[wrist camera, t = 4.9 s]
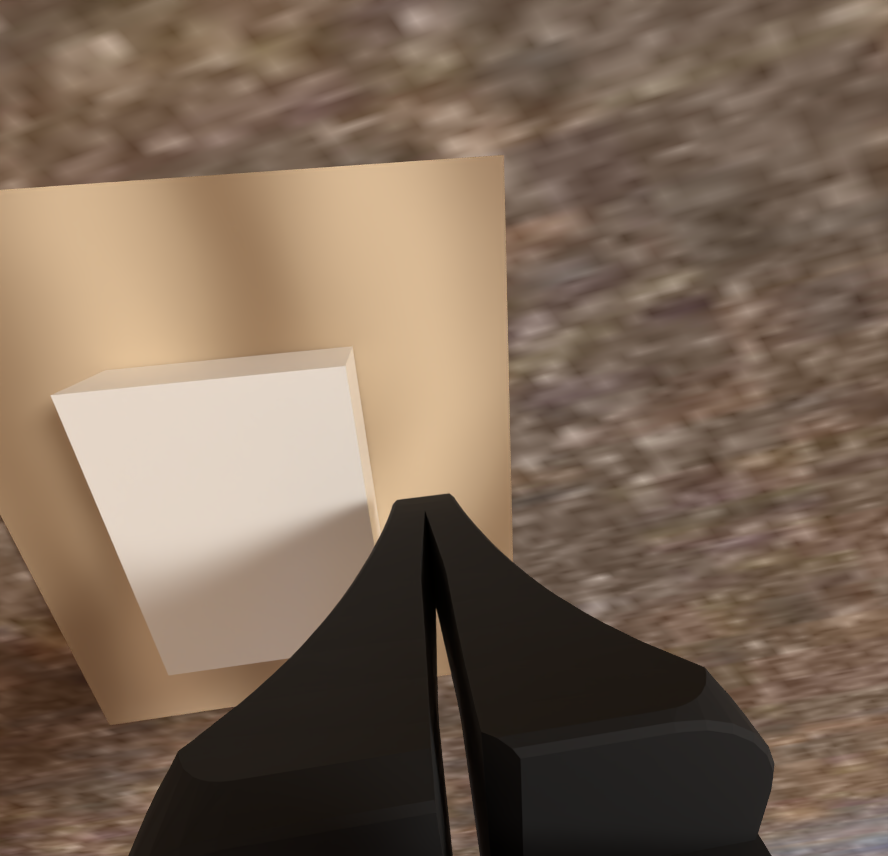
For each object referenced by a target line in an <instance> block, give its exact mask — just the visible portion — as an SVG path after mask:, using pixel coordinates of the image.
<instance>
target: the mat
mask: <svg viewBox="0 0 888 856" xmlns="http://www.w3.org/2000/svg"><path fill="white" fill-rule="evenodd" d="M350 346H352V347H353V353H354V360H355V366H356V373H357V379H358V386H359V393H360V399H361V406H362V412H363V419H364V425H365V432H366V439H367V445H368V452H369V458H370V465H371V471H372V478H373V485H374V491H375V498H376V504H377V511H378V517H379V524H380V531H381V533H382V530H383V528H384V526H385V524H386V522H387V519H388V517H389V514H390V511H391V508H392V505H393V504H394V503H395V501H396V500H400V499H407V498H415V497H423V496H431V495H439V494H447V493H450V494H451V495H452V496H454V497H455V499H456V501H457V502H458V504H459V505H460V506H461V508H462V509H463V510H464V512H465V513H466V514H467V515H468V517H469V518H470V519H471V520H472V521H473V523H474V524H475V525H476V526H477V527H478V528H479V529H480V530H481V531H482V533H483V534H484V535H485V536H486V537H487V538H488V539H489V540H490V541H491V542H492V543H493V544H494V545H495V546H496V547H497V548H498V549H499V550H500V551H501V552H502V553H503V554H504V555H506V556H507V557H508V558H509V559H510V560H511V561H512V562H513V546H512V501H511V456H510V411H509V367H508V322H507V277H506V232H505V188H504V155H498V156H483V157H469V158H454V159H440V160H426V161H411V162H397V163H382V164H368V165H354V166H339V167H325V168H310V169H296V170H282V171H267V172H253V173H238V174H224V175H210V176H195V177H181V178H166V179H152V180H138V181H123V182H109V183H94V184H80V185H66V186H51V187H37V188H22V189H8V190H0V515H1V517H2V519H3V521H4V523H5V525H6V527H7V529H8V530H9V532H10V534H11V536H12V538H13V540H14V542H15V544H16V546H17V548H18V550H19V552H20V554H21V556H22V557H23V559H24V561H25V563H26V565H27V567H28V569H29V571H30V573H31V575H32V577H33V579H34V581H35V582H36V584H37V586H38V588H39V590H40V592H41V594H42V596H43V598H44V600H45V602H46V604H47V606H48V608H49V609H50V611H51V613H52V615H53V617H54V619H55V621H56V623H57V625H58V627H59V629H60V631H61V633H62V635H63V636H64V638H65V640H66V642H67V644H68V646H69V648H70V650H71V652H72V654H73V656H74V658H75V660H76V662H77V663H78V665H79V667H80V669H81V671H82V673H83V675H84V677H85V679H86V681H87V683H88V685H89V687H90V689H91V690H92V692H93V694H94V696H95V698H96V700H97V702H98V704H99V706H100V708H101V710H102V712H103V714H104V716H105V717H106V719H107V721H108V723H109V725H114V724H121V723H128V722H135V721H141V720H148V719H155V718H161V717H168V716H175V715H181V714H188V713H195V712H202V711H208V710H215V709H222V708H228V707H235V706H237V705H238V704H240V703H241V702H242V701H243V700H244V699H245V698H247V697H248V696H249V695H250V694H251V693H252V692H254V691H255V690H256V689H257V688H258V687H259V686H260V685H261V684H263V683H264V682H265V681H266V680H267V679H268V678H269V677H270V676H271V675H272V674H274V673H275V672H276V671H277V670H278V669H279V668H280V667H281V666H282V665H283V664H284V663H285V662H286V661H287V660H288V659H289V658H288V659H281V660H274V661H267V662H260V663H253V664H246V665H239V666H232V667H225V668H218V669H211V670H204V671H197V672H190V673H183V674H176V675H168V673H167V671H166V668H165V666H164V664H163V661H162V659H161V656H160V654H159V652H158V649H157V647H156V645H155V642H154V640H153V637H152V635H151V633H150V630H149V628H148V626H147V623H146V621H145V618H144V616H143V614H142V611H141V609H140V607H139V604H138V602H137V599H136V597H135V595H134V592H133V590H132V588H131V585H130V583H129V580H128V578H127V576H126V573H125V571H124V569H123V566H122V564H121V561H120V559H119V557H118V554H117V552H116V550H115V547H114V545H113V542H112V540H111V538H110V535H109V533H108V531H107V528H106V526H105V523H104V521H103V519H102V516H101V514H100V512H99V509H98V507H97V504H96V502H95V500H94V497H93V495H92V493H91V490H90V488H89V486H88V483H87V481H86V478H85V476H84V474H83V471H82V469H81V467H80V464H79V462H78V459H77V457H76V455H75V452H74V450H73V448H72V445H71V443H70V440H69V438H68V436H67V433H66V431H65V429H64V426H63V424H62V421H61V419H60V417H59V414H58V412H57V410H56V407H55V405H54V402H53V400H52V398H51V395H52V394H55V393H57V392H59V391H61V390H63V389H66V388H68V387H70V386H72V385H74V384H77V383H79V382H81V381H83V380H85V379H87V378H90V377H92V376H94V375H96V374H98V373H101V372H103V371H105V370H113V369H123V368H133V367H143V366H154V365H164V364H174V363H185V362H195V361H205V360H216V359H226V358H236V357H247V356H257V355H267V354H278V353H288V352H298V351H308V350H319V349H329V348H339V347H350ZM436 630H437V676H443V675H450V674H451V671H450V666H449V662H448V658H447V653H446V649H445V645H444V640H443V636H442V632H441V627H440V623H439V619H438V614H437V610H436Z"/></svg>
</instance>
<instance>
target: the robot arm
mask: <svg viewBox="0 0 888 856" xmlns="http://www.w3.org/2000/svg"><path fill="white" fill-rule="evenodd" d="M436 610H437V614H438V619H439V623H440V627H441V632H442V636H443V640H444V645H445V649H446V653H447V658H448V662H449V666H450V671H451V675H452V679H453V684H454V688H455V692H456V697H457V701H458V707H459V712H460V717H461V723H462V730H463V737H464V744H465V751H466V758H467V765H468V773H469V780H470V787H471V794H472V801H473V808H474V816H475V823H476V830H477V837H478V845H479V852H480V856H771V854H770V853H769V851H768V849H767V848H766V846H765V844H764V843H763V841H762V840H761V838H760V836H759V835H758V831H759V828H760V825H761V821H762V818H763V815H764V812H765V808H766V805H767V802H768V799H769V795H770V792H771V788H772V781H773V772H774V761H773V758H772V755H771V752H770V749H769V747H768V745H767V744H766V743H765V741H764V740H763V738H762V737H761V736H760V734H759V733H758V732H757V730H756V729H755V728H754V726H753V725H752V724H751V722H750V721H749V720H748V718H747V717H746V716H745V714H744V713H743V712H742V710H741V709H740V708H739V707H738V705H737V704H736V703H735V702H734V700H733V699H732V698H731V697H730V696H729V694H728V693H727V692H726V691H725V690H724V689H723V688H722V687H721V686H720V685H719V683H718V682H717V681H716V680H715V679H714V678H713V677H712V676H711V674H710V673H709V672H708V671H707V669H706V668H705V667H702V666H700V665H698V664H695V663H693V662H690V661H688V660H685V659H683V658H681V657H678V656H676V655H673V654H671V653H668V652H666V651H663V650H661V649H659V648H656V647H654V646H651V645H649V644H646V643H644V642H642V641H640V640H637V639H635V638H633V637H631V636H629V635H627V634H625V633H623V632H621V631H619V630H617V629H615V628H613V627H611V626H609V625H607V624H605V623H603V622H601V621H599V620H597V619H596V618H594V617H592V616H590V615H588V614H586V613H585V612H583V611H581V610H580V609H578V608H576V607H575V606H573V605H572V604H570V603H568V602H567V601H565V600H563V599H562V598H560V597H558V596H557V595H555V594H554V593H552V592H551V591H549V590H548V589H546V588H545V587H544V586H542V585H541V584H540V583H538V582H537V581H536V580H534V579H533V578H532V577H530V576H529V575H528V574H526V573H525V572H524V571H523V570H522V569H520V568H519V567H518V566H517V565H516V564H514V563H513V562H512V561H511V560H510V559H509V558H508V557H507V556H506V555H504V554H503V553H502V552H501V551H500V550H499V549H498V548H497V547H496V546H495V545H494V544H493V543H492V542H491V541H490V540H489V539H488V538H487V537H486V536H485V535H484V534H483V533H482V531H481V530H480V529H479V528H478V527H477V526H476V525H475V524H474V523H473V521H472V520H471V519H470V518H469V517H468V515H467V514H466V513H465V512H464V510H463V509H462V508H461V506H460V505H459V504H458V502H457V501H456V499H455V497H454V496H452V495H451V494H450V493H447V494H439V495H431V496H423V497H415V498H407V499H400V500H396V501H395V503H394V504H393V505H392V508H391V511H390V514H389V517H388V519H387V522H386V524H385V526H384V528H383V530H382V533H381V535H380V536H379V538H378V540H377V542H376V544H375V546H374V548H373V550H372V552H371V554H370V555H369V557H368V559H367V560H366V562H365V564H364V565H363V567H362V568H361V570H360V572H359V573H358V575H357V576H356V578H355V579H354V581H353V583H352V584H351V586H350V587H349V588H348V590H347V591H346V593H345V594H344V595H343V597H342V598H341V599H340V601H339V602H338V603H337V605H336V606H335V607H334V609H333V610H332V611H331V612H330V614H329V615H328V616H327V617H326V619H325V620H324V621H323V622H322V623H321V624H320V626H319V627H318V628H317V629H316V630H315V631H314V632H313V634H312V635H311V636H310V637H309V638H308V639H307V640H306V642H305V643H304V644H303V645H302V646H301V647H300V648H299V649H298V650H297V651H296V652H295V653H294V654H293V655H292V656H291V657H290V658H289V659H288V660H287V661H286V662H285V663H284V664H283V665H282V666H281V667H280V668H279V669H278V670H277V671H276V672H275V673H274V674H272V675H271V676H270V677H269V678H268V679H267V680H266V681H265V682H264V683H263V684H261V685H260V686H259V687H258V688H257V689H256V690H255V691H254V692H252V693H251V694H250V695H249V696H248V697H247V698H245V699H244V700H243V701H242V702H241V703H240V704H238V705H237V706H236V707H235V708H233V709H232V710H231V711H229V712H228V713H227V714H226V715H224V716H223V717H222V718H221V719H219V720H218V721H217V722H216V723H214V724H213V725H212V726H211V727H209V728H208V729H207V730H205V731H204V732H203V733H202V734H200V735H199V736H198V737H197V738H195V739H194V740H193V741H191V742H190V743H189V744H187V745H186V746H185V747H183V748H182V749H181V750H179V751H178V753H177V754H176V757H175V759H174V761H173V763H172V765H171V767H170V769H169V770H168V772H167V774H166V776H165V778H164V779H163V781H162V783H161V785H160V787H159V788H158V790H157V792H156V795H155V797H154V799H153V801H152V803H151V805H150V807H149V809H148V811H147V813H146V816H145V818H144V820H143V823H142V825H141V827H140V830H139V832H138V834H137V837H136V839H135V841H134V844H133V846H132V849H131V851H130V853H129V856H453V854H452V844H451V835H450V825H449V816H448V806H447V797H446V787H445V778H444V768H443V758H442V749H441V739H440V729H439V715H438V685H437V630H436Z"/></svg>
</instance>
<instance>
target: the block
mask: <svg viewBox="0 0 888 856" xmlns="http://www.w3.org/2000/svg"><path fill="white" fill-rule="evenodd" d="M51 398H52V400H53V402H54V405H55V407H56V410H57V412H58V414H59V417H60V419H61V421H62V424H63V426H64V429H65V431H66V433H67V436H68V438H69V440H70V443H71V445H72V448H73V450H74V452H75V455H76V457H77V459H78V462H79V464H80V467H81V469H82V471H83V474H84V476H85V478H86V481H87V483H88V486H89V488H90V490H91V493H92V495H93V497H94V500H95V502H96V504H97V507H98V509H99V512H100V514H101V516H102V519H103V521H104V523H105V526H106V528H107V531H108V533H109V535H110V538H111V540H112V542H113V545H114V547H115V550H116V552H117V554H118V557H119V559H120V561H121V564H122V566H123V569H124V571H125V573H126V576H127V578H128V580H129V583H130V585H131V588H132V590H133V592H134V595H135V597H136V599H137V602H138V604H139V607H140V609H141V611H142V614H143V616H144V618H145V621H146V623H147V626H148V628H149V630H150V633H151V635H152V637H153V640H154V642H155V645H156V647H157V649H158V652H159V654H160V656H161V659H162V661H163V664H164V666H165V668H166V671H167V673H168V675H176V674H183V673H190V672H197V671H204V670H211V669H218V668H225V667H232V666H239V665H246V664H253V663H260V662H267V661H274V660H281V659H288V658H290V657H291V656H292V655H293V654H294V653H295V652H296V651H297V650H298V649H299V648H300V647H301V646H302V645H303V644H304V643H305V642H306V640H307V639H308V638H309V637H310V636H311V635H312V634H313V632H314V631H315V630H316V629H317V628H318V627H319V626H320V624H321V623H322V622H323V621H324V620H325V619H326V617H327V616H328V615H329V614H330V612H331V611H332V610H333V609H334V607H335V606H336V605H337V603H338V602H339V601H340V599H341V598H342V597H343V595H344V594H345V593H346V591H347V590H348V588H349V587H350V586H351V584H352V583H353V581H354V579H355V578H356V576H357V575H358V573H359V572H360V570H361V568H362V567H363V565H364V564H365V562H366V560H367V559H368V557H369V555H370V554H371V552H372V550H373V548H374V546H375V544H376V542H377V540H378V538H379V536H380V535H381V531H380V524H379V517H378V511H377V504H376V498H375V491H374V485H373V478H372V471H371V465H370V458H369V452H368V445H367V439H366V432H365V425H364V419H363V412H362V406H361V399H360V393H359V386H358V379H357V373H356V366H355V360H354V353H353V347H352V346H350V347H339V348H329V349H319V350H308V351H298V352H288V353H278V354H267V355H257V356H247V357H236V358H226V359H216V360H205V361H195V362H185V363H174V364H164V365H154V366H143V367H133V368H123V369H113V370H105V371H103V372H101V373H98V374H96V375H94V376H92V377H90V378H87V379H85V380H83V381H81V382H79V383H77V384H74V385H72V386H70V387H68V388H66V389H63V390H61V391H59V392H57V393H55V394H52V395H51Z"/></svg>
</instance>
